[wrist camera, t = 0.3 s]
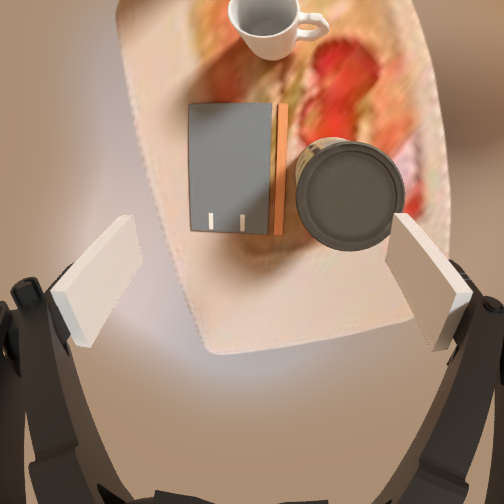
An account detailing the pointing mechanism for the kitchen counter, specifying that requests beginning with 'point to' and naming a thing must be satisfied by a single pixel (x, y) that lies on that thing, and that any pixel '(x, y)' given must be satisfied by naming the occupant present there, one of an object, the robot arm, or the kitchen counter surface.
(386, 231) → the coffee can
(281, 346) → the kitchen counter surface
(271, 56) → the mug
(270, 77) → the kitchen counter surface
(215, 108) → the mat
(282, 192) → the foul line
